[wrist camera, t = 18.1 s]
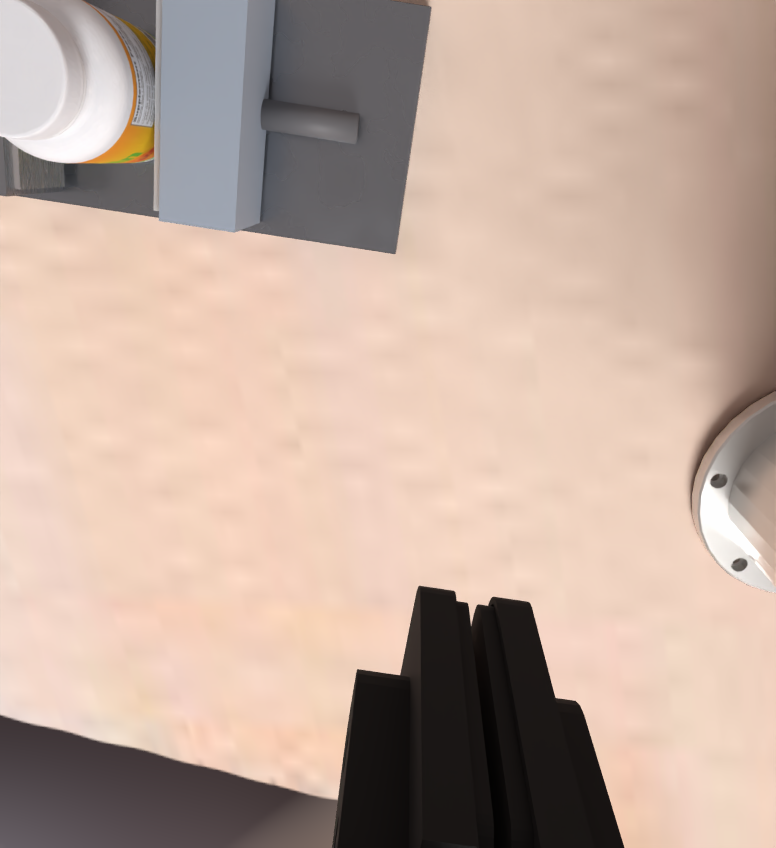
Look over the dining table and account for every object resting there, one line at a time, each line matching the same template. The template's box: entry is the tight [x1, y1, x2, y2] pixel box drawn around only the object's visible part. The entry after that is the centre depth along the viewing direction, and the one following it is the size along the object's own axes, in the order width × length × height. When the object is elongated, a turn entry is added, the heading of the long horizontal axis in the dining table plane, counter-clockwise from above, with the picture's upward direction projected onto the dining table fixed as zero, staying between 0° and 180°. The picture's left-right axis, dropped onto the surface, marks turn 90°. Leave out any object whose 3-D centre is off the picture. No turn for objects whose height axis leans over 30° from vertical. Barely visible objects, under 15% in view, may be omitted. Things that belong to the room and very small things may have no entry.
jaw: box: [154, 0, 360, 232], centre depth 27 cm, size 7×9×4 cm
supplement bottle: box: [0, 0, 156, 164], centre depth 24 cm, size 5×5×10 cm
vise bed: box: [0, 0, 431, 254], centre depth 27 cm, size 18×10×6 cm, turn 82°
